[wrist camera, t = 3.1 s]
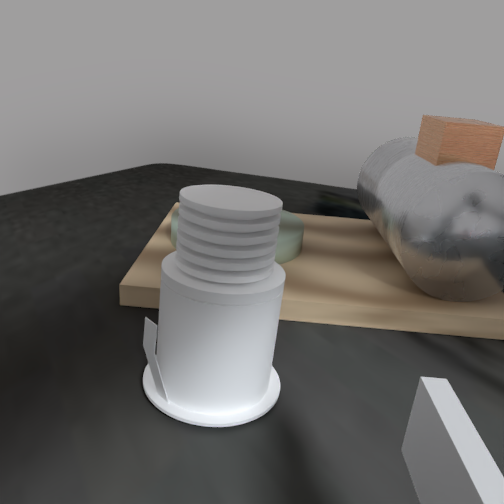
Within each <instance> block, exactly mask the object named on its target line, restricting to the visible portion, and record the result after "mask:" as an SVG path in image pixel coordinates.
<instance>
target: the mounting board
mask: <svg viewBox="0 0 504 504" xmlns="http://www.w3.org/2000/svg"><path fill="white" fill-rule="evenodd" d="M280 214H281V219H280V224H279V225H278V226H279V233H278V237H277V247H276V249H275V250H276V254H275V260H274V261H275V262H276V263H278V264H279V265H280V266H281V267H282V268H283V269H284V271H285V274H286V277H285V283H284V290H283V296H282V302H281V309H280V315H279V320H290V321H301V322H312V323H323V324H334V325H345V326H356V327H367V328H378V329H389V330H400V331H411V332H423V333H434V334H445V335H456V336H467V337H478V338H489V339H500V340H504V293H503V292H502V291H500V292H498V293H496V294H494V295H492V296H489V297H486V298H483V299H480V300H474V301H467V302H453V301H446V300H442V299H439V298H436V297H434V296H431V295H429V294H428V293H426V292H424V291H423V290H421V289H420V288H419V287H418V286H417V285H416V284H415V283H414V282H413V281H412V280H411V278H410V277H409V275H408V274H407V273H406V271H405V270H404V268H403V267H402V265H401V264H400V262H399V261H398V259H397V258H396V256H395V255H394V253H393V252H392V251H391V249H390V248H389V246H388V245H387V243H386V242H385V240H384V239H383V237H382V236H381V234H380V233H379V232H378V230H377V229H376V227H375V226H374V224H373V223H372V221H371V220H363V219H352V218H341V217H330V216H319V215H308V214H297V213H290V212H287V211H285V210H282V211H281V212H280ZM179 215H180V214H179V203H175V205H174V206H173V208H172V209H171V211H170V212H169V214H168V215H167V216H166V218H165V219H164V221H163V222H162V224H161V225H160V227H159V228H158V229H157V231H156V232H155V234H154V235H153V237H152V238H151V240H150V241H149V242H148V244H147V245H146V247H145V248H144V250H143V251H142V253H141V254H140V255H139V257H138V258H137V260H136V261H135V263H134V264H133V266H132V267H131V268H130V270H129V271H128V273H127V274H126V276H125V277H124V279H123V280H122V282H121V283H120V284H119V291H120V305H124V306H135V307H146V308H157V309H159V303H160V285H161V265H162V261H163V259H164V258H165V257H166V256H167V255H169V254H170V253H172V252H175V251H176V242H177V229H178V216H179Z"/></svg>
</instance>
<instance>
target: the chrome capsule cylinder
mask: <svg viewBox="0 0 504 504" xmlns="http://www.w3.org/2000/svg"><path fill="white" fill-rule="evenodd" d="M503 136H504V127H503V126H499V125H495V124H491V123H487V122H483V121H478V120H473V119H462V118H450V117H440V116H429V115H423V118H422V122H421V127H420V132H419V136H418V138H415V137H403V138H398V139H394V140H391V141H389V142H387V143H385V144H383V145H381V146H380V147H378V148H377V149H376V150H375V151H374V152H373V153H372V154H371V155H370V156H369V157H368V158H367V160H366V161H365V163H364V164H363V166H362V168H361V171H360V173H359V178H358V183H357V193H358V198H359V201H360V204H361V206H362V208H363V210H364V211H365V212H366V214H367V215H368V217H369V218H370V220H371V221H372V223H373V224H374V226H375V227H376V229H377V230H378V232H379V233H380V234H381V236H382V237H383V239H384V240H385V242H386V243H387V245H388V246H389V248H390V249H391V251H392V252H393V253H394V255H395V256H396V258H397V259H398V261H399V262H400V264H401V265H402V267H403V268H404V270H405V271H406V273H407V274H408V275H409V277H410V278H411V280H412V281H413V282H414V283H415V284H416V285H417V286H418V287H419V288H420V289H421V290H423V291H424V292H426V293H428V294H429V295H431V296H434V297H436V298H439V299H442V300H446V301H453V302H467V301H474V300H480V299H483V298H486V297H489V296H492V295H494V294H496V293H498V292H500V291H502V290H504V175H503V174H501V173H499V172H496V171H494V168H495V165H496V161H497V157H498V154H499V150H500V147H501V143H502V140H503Z"/></svg>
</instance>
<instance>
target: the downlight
mask: <svg viewBox="0 0 504 504" xmlns="http://www.w3.org/2000/svg"><path fill="white" fill-rule="evenodd" d="M179 200H180V203H179V214H180V215H179V216H178V229H177V242H176V251H175V252H172V253H170V254H169V255H167V256H166V257H165V258H164V259H163V261H162V265H161V285H160V303H159V321H158V339H157V355H155V347H156V337H157V325H156V324H155V323H153V322H152V321H151V320H149V319H148V318H147V317H145V326H144V338H143V347H144V350H145V353H146V356H147V360H148V364H147V366H146V368H145V370H144V374H143V387H144V391H145V394H146V395H147V397H148V399H149V400H150V401H151V402H152V404H153V405H154V406H155V407H157V408H158V409H159V410H160V411H162V412H163V413H165V414H167V415H168V416H170V417H172V418H175V419H177V420H180V421H182V422H186V423H189V424H193V425H199V426H206V427H228V426H235V425H240V424H244V423H247V422H250V421H253V420H255V419H257V418H259V417H261V416H262V415H264V414H265V413H267V412H268V411H269V410H270V409H271V408H272V407H273V406H274V404H275V403H276V401H277V399H278V397H279V392H280V380H279V376H278V374H277V372H276V371H275V369H274V368H273V366H272V360H273V354H274V347H275V341H276V335H277V328H278V322H279V315H280V309H281V302H282V296H283V290H284V283H285V277H286V274H285V271H284V269H283V268H282V267H281V266H280V265H279V264H278V263H276V262H275V261H274V260H275V254H276V250H275V249H276V247H277V237H278V233H279V226H278V225H279V224H280V219H281V214H280V212H281V211H282V206H283V202H282V201H281V200H280V199H279V198H278V197H276V196H274V195H271V194H268V193H265V192H262V191H258V190H254V189H249V188H243V187H236V186H227V185H195V186H189V187H186V188H183V189H181V190H180V197H179Z"/></svg>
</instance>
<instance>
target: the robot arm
mask: <svg viewBox="0 0 504 504" xmlns="http://www.w3.org/2000/svg"><path fill="white" fill-rule="evenodd" d="M401 451H402V453H403V456H404V459H405V462H406V465H407V468H408V470H409V473H410V476H411V479H412V482H413V485H414V487H415V490H416V493H417V496H418V499H419V502H420V504H504V477H503V475H502V474H501V472H500V470H499V469H498V467H497V465H496V463H495V462H494V460H493V458H492V456H491V455H490V453H489V451H488V450H487V448H486V446H485V444H484V443H483V441H482V439H481V437H480V436H479V434H478V432H477V431H476V429H475V427H474V425H473V424H472V422H471V420H470V418H469V417H468V415H467V413H466V412H465V410H464V408H463V406H462V405H461V403H460V401H459V399H458V398H457V396H456V394H455V393H454V391H453V389H452V387H451V386H450V384H449V382H448V380H447V379H441V378H430V377H420V380H419V384H418V388H417V392H416V395H415V399H414V403H413V407H412V411H411V414H410V418H409V422H408V426H407V430H406V433H405V437H404V441H403V445H402V449H401Z"/></svg>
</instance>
